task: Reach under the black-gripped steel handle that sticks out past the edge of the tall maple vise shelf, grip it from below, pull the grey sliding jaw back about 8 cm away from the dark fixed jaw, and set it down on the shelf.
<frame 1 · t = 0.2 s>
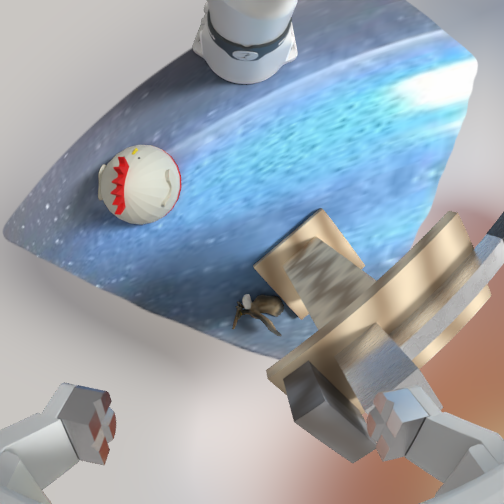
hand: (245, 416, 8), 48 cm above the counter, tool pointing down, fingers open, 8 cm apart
kitchen timer: (143, 184, 52), on the counter
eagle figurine: (258, 307, 59), on the counter
sliding jaw: (477, 257, 26), point 31 cm above the counter, touching vise shelf
vise shelf: (365, 216, 56), on the counter
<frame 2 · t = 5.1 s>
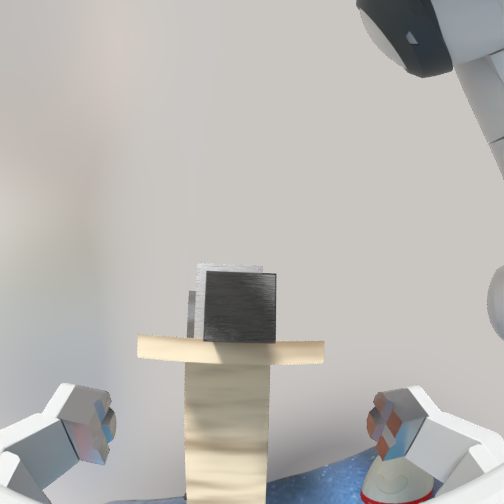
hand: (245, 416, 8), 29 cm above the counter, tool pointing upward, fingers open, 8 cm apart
kitchen timer: (396, 494, 39), on the counter
sliding jaw: (231, 340, 19), point 31 cm above the counter, touching vise shelf
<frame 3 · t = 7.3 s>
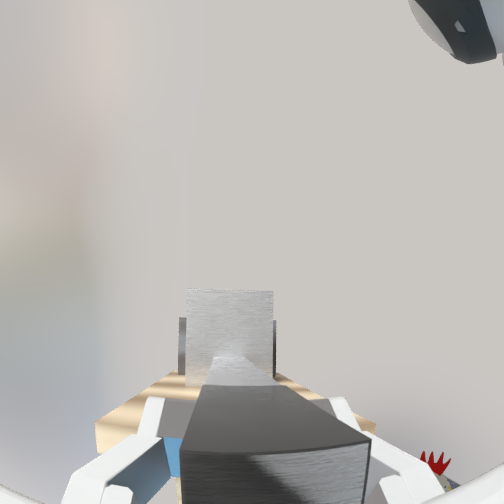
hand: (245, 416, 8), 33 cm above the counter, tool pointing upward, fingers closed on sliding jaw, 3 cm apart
sliding jaw: (238, 435, 11), point 31 cm above the counter, touching gripper, vise shelf
when the fingers open (33 cm above the counter, at t = 11.9 s): sliding jaw stays where it is, resting on vise shelf.
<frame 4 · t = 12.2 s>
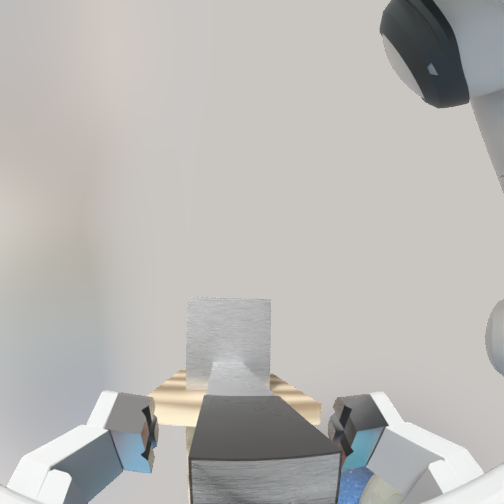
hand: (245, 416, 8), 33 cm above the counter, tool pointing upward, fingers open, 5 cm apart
sliding jaw: (236, 439, 12), point 31 cm above the counter, touching vise shelf
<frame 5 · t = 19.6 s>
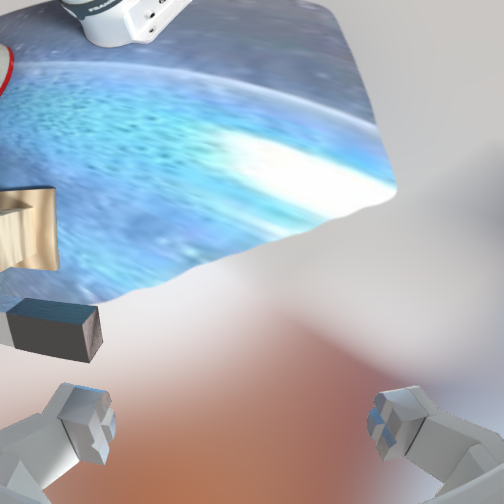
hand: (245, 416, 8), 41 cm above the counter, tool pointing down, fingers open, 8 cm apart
sliding jaw: (4, 310, 17), point 31 cm above the counter, touching vise shelf
vise shelf: (85, 229, 46), on the counter
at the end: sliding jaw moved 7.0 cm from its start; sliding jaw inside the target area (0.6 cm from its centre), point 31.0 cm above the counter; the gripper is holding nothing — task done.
